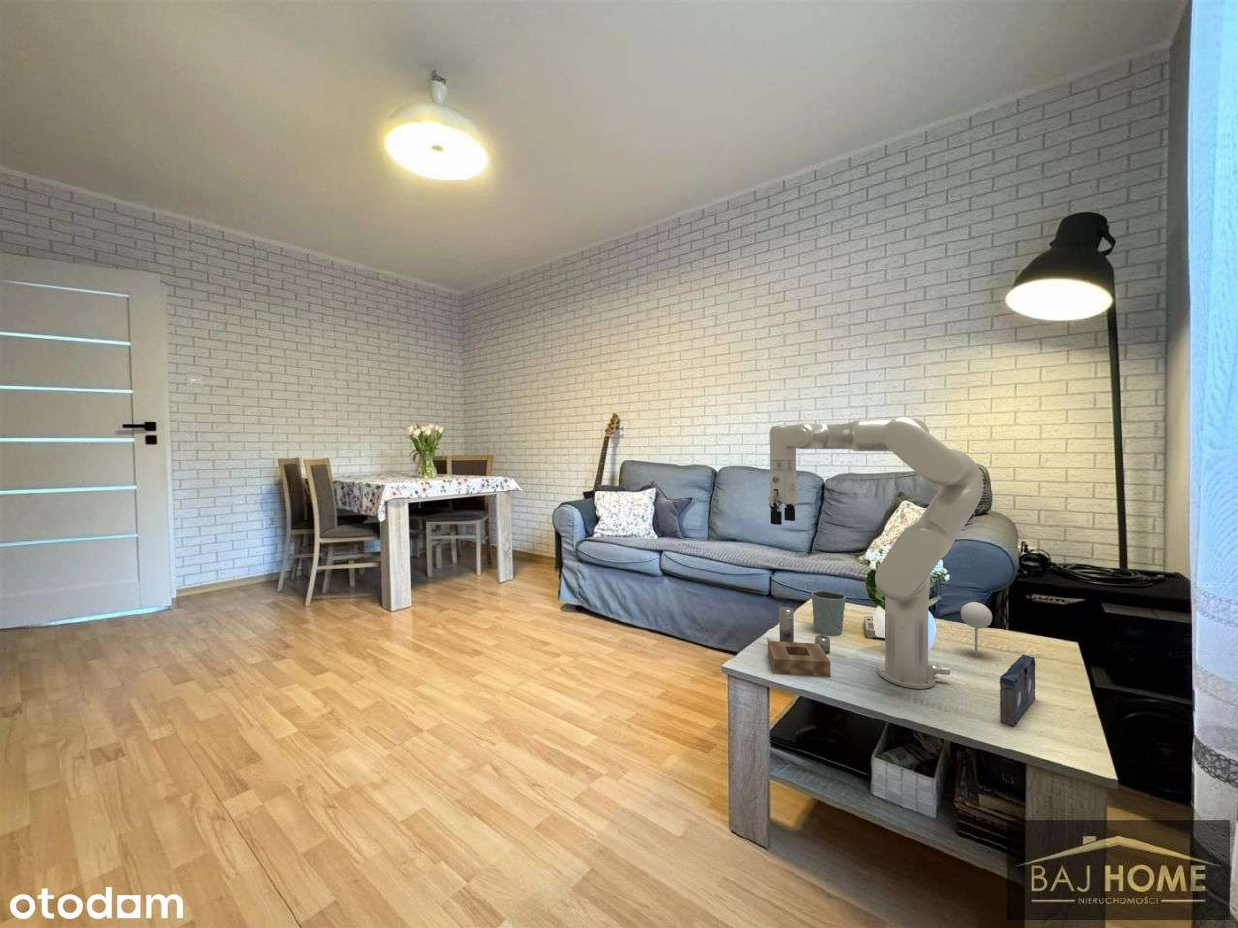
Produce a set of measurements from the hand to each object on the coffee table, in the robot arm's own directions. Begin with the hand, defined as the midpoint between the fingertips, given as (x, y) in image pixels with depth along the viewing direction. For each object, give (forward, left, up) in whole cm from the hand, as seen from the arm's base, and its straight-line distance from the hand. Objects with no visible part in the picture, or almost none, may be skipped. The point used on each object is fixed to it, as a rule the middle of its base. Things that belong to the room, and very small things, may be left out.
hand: (783, 522), depth 144 cm
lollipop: (-52, +1, -37) cm, 64 cm away
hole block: (-1, +15, -37) cm, 40 cm away
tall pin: (0, +4, -37) cm, 37 cm away
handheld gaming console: (-32, -13, -38) cm, 51 cm away
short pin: (-10, +4, -37) cm, 39 cm away
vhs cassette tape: (-45, +32, -37) cm, 67 cm away
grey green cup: (-16, -13, -37) cm, 43 cm away
